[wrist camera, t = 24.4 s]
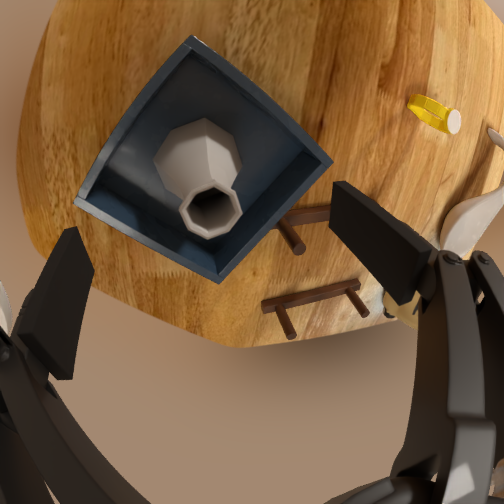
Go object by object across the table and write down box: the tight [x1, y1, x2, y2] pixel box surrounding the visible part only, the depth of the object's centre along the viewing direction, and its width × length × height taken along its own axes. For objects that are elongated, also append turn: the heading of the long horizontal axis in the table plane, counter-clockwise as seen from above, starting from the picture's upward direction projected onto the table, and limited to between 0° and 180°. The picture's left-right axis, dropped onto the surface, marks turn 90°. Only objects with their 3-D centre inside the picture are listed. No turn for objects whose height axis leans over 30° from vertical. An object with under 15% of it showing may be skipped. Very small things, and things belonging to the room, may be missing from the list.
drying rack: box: [261, 200, 379, 340], centre depth 30 cm, size 14×13×6 cm
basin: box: [73, 35, 334, 284], centre depth 21 cm, size 15×15×5 cm
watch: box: [407, 94, 461, 134], centre depth 21 cm, size 6×3×6 cm, turn 67°
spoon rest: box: [440, 128, 504, 258], centre depth 30 cm, size 24×12×7 cm, turn 161°
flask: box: [153, 118, 243, 240], centre depth 18 cm, size 7×7×10 cm
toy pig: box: [383, 291, 420, 330], centre depth 37 cm, size 10×12×11 cm
